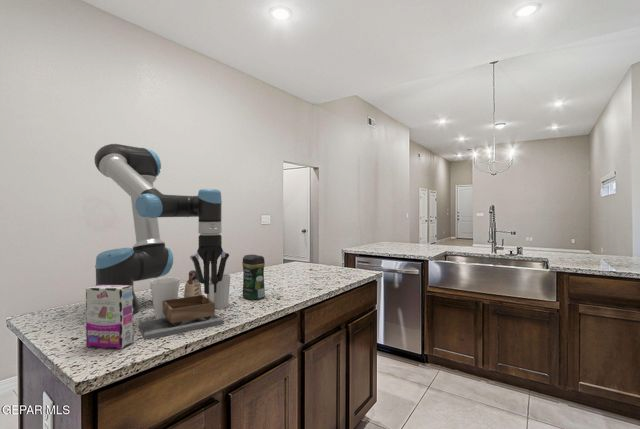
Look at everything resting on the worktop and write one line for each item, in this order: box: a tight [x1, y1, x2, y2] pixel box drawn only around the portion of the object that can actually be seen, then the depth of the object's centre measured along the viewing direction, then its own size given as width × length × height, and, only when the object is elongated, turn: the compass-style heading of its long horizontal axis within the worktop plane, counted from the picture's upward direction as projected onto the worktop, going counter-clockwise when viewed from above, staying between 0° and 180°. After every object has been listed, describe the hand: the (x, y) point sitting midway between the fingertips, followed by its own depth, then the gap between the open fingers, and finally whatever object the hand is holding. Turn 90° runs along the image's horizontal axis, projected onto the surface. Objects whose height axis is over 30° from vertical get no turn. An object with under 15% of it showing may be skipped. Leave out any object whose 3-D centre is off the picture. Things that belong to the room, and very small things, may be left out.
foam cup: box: [149, 277, 181, 319], centre depth 116 cm, size 10×9×13 cm
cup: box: [209, 273, 231, 310], centre depth 128 cm, size 8×8×12 cm
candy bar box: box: [85, 284, 135, 350], centre depth 91 cm, size 11×5×16 cm, turn 81°
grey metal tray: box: [138, 314, 225, 341], centre depth 107 cm, size 14×23×2 cm, turn 126°
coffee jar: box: [241, 254, 266, 301], centre depth 141 cm, size 10×8×19 cm
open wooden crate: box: [163, 294, 216, 325], centre depth 108 cm, size 13×13×5 cm
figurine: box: [183, 269, 203, 298], centre depth 142 cm, size 7×7×12 cm
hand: (210, 302), depth 113 cm, fingers closed
